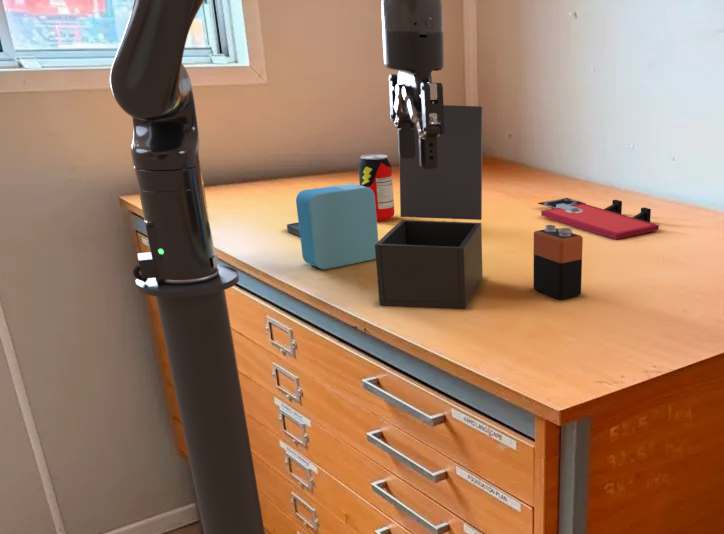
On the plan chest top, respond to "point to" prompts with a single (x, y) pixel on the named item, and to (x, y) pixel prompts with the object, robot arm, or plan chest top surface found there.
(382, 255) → the chest
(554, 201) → the red board with handle
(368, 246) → the data package
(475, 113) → the lid
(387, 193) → the beverage can
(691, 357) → the plan chest top surface
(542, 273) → the battery
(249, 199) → the plan chest top surface
